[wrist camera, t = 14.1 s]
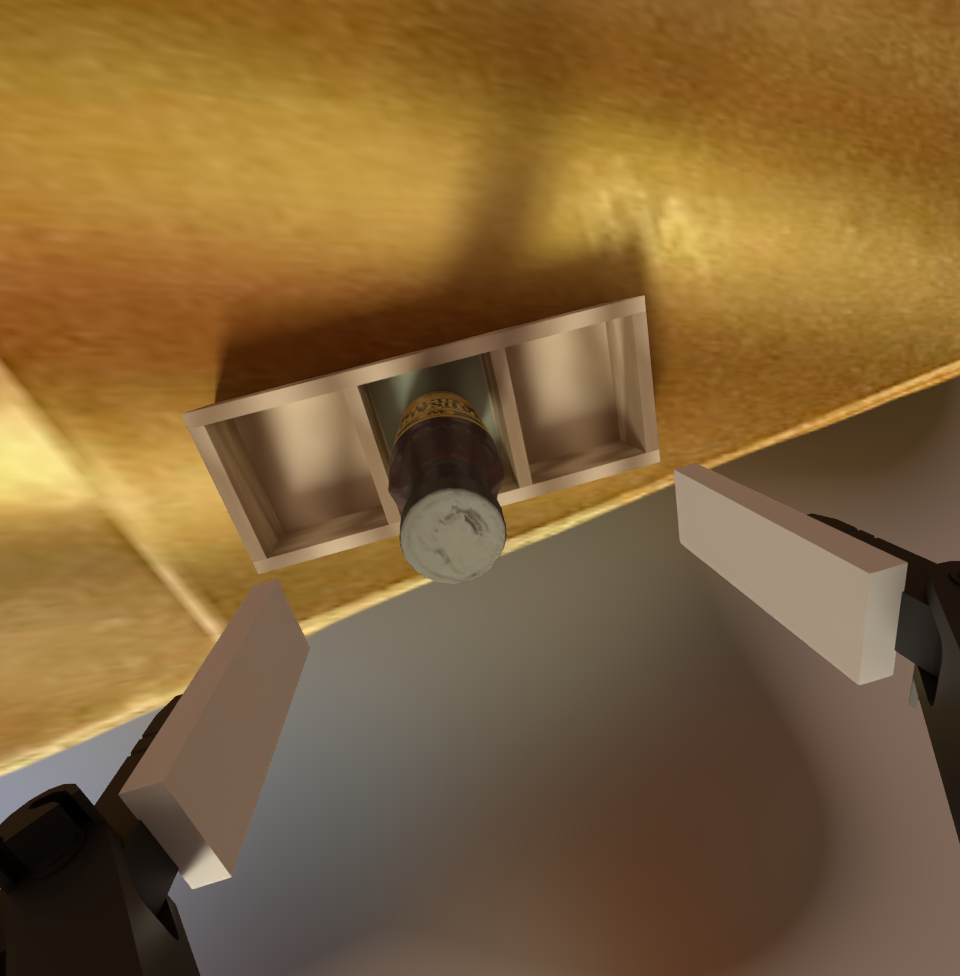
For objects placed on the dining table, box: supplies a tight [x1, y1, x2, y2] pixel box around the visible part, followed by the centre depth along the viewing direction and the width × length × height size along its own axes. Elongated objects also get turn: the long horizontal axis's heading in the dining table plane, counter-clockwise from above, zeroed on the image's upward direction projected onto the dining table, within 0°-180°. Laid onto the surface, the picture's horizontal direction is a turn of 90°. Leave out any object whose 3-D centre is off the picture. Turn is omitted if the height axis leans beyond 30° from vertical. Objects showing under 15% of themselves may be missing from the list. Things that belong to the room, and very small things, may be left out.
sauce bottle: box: [388, 391, 507, 584], centre depth 26 cm, size 7×6×20 cm
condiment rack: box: [181, 295, 660, 574], centre depth 33 cm, size 31×12×5 cm, turn 103°
